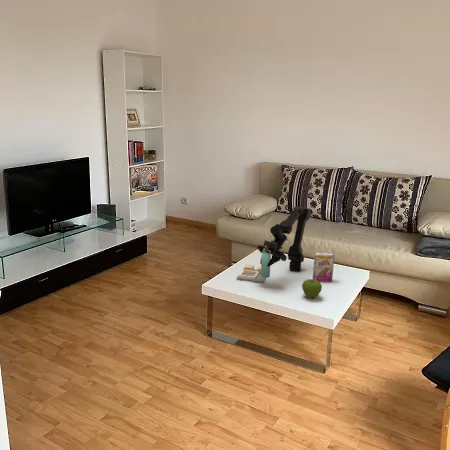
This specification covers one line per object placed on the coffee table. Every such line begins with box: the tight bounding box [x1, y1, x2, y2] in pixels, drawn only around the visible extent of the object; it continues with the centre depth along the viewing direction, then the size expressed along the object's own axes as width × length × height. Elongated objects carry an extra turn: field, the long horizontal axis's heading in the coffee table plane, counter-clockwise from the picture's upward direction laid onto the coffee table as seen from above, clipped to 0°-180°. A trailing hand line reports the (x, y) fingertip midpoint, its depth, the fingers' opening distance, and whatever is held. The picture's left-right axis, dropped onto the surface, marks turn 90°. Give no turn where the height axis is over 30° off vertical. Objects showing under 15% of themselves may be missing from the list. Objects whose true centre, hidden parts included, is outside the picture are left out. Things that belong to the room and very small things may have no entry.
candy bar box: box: [312, 252, 335, 283], centre depth 284 cm, size 11×5×16 cm, turn 84°
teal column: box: [260, 252, 272, 279], centre depth 273 cm, size 5×5×14 cm
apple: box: [301, 278, 323, 299], centre depth 262 cm, size 11×10×10 cm
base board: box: [236, 264, 267, 284], centre depth 290 cm, size 16×17×4 cm
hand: (264, 265), depth 272 cm, fingers closed on teal column, 5 cm apart
